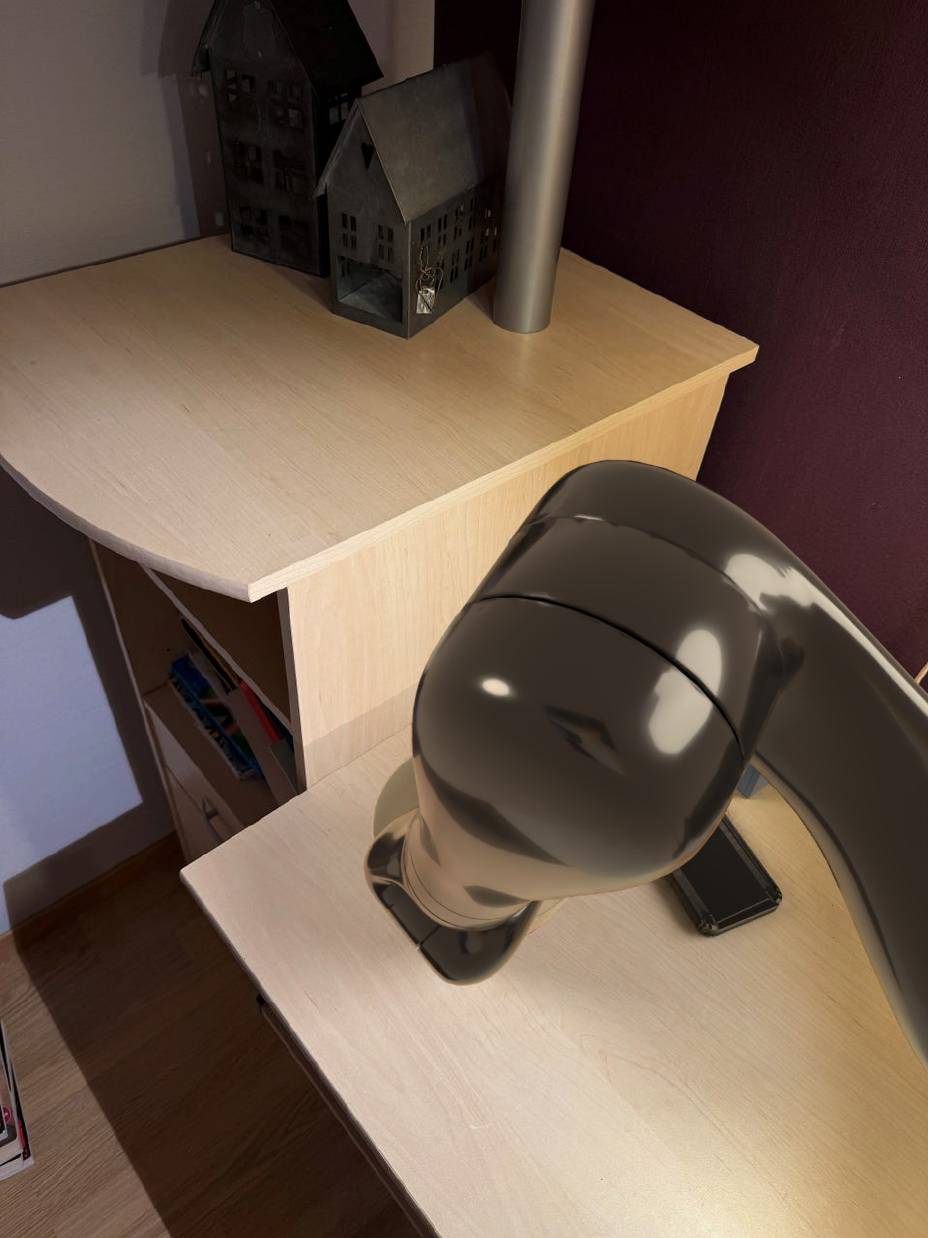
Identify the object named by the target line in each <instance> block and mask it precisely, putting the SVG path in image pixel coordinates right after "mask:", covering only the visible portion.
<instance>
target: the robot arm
mask: <svg viewBox="0 0 928 1238" xmlns="http://www.w3.org/2000/svg"><path fill="white" fill-rule="evenodd" d="M410 728H411V729H410V731H411V732H410V736H411V737H410V742H411V744H410V745H411V746H410V747H411V756H412V760H413V766H414V772H415V778H416V784H417V791H418V802H419V806H417V807H415V808H413V809H411V810H409V811H407V812H405V813H404V814H402V815H400V816H399V817H397V818H396V819H395V820H394V821H392V822H391V823H390V824H389V825H387V826H386V827H385V828H384V829H383V830H382V831H381V832H380V833H379V834H378V836H377V837H376V838H375V839H374V841H373V842H372V841H371V844H369V845H370V846H369V847H368V850H367V852H366V854H365V855H364V860H363V866H362V867H363V876H364V880H365V883H366V885H367V888H368V889H369V891H370V893H371V894H372V896H373V898H374V899H375V900H376V902H377V903H378V904H379V905H380V906H381V908H382V909H383V910H384V912H385V913H387V915H388V916H389V917H390V919H391V920H392V921H393V923H394V924H395V925H396V926H397V928H398V929H399V930H400V931H401V932H402V934H403V936H404V937H405V938H406V939H407V940H408V942H409V943H410V944H411V946H412V947H413V948H414V949H417V950H416V952H417V953H418V955H419V957H421V959H423V961H424V962H425V964H426V965H427V966H428V967H429V968H430V970H431V971H432V972H433V973H434V974H435V975H436V976H437V977H438V978H439V979H440V980H441V981H443V982H445V983H446V984H448V985H452V986H456V987H468V986H472V985H477V984H482V983H483V982H485V981H487V980H489V979H491V978H492V977H494V976H495V975H496V974H498V973H499V972H500V971H502V969H503V968H504V967H505V966H507V964H508V963H509V962H510V961H511V960H512V958H513V957H514V956H515V954H516V953H517V951H518V949H519V948H520V946H521V944H523V941H524V940H525V938H526V937H527V936H526V934H527V933H528V931H529V929H530V927H531V925H532V923H533V921H534V919H535V917H536V915H537V913H538V912H539V910H540V908H541V906H542V904H543V902H544V900H553V899H561V898H568V897H569V898H574V897H582V896H594V895H602V894H610V893H617V892H621V891H626V890H628V889H629V890H630V889H632V888H636V887H639V886H644V885H646V884H648V883H652V882H655V881H657V880H659V879H661V878H663V877H664V876H665V875H667V874H670V873H671V872H673V871H674V870H676V869H678V868H679V867H681V866H682V865H684V864H685V863H686V862H688V861H689V860H690V859H691V858H692V857H693V856H695V855H696V854H697V853H698V851H699V850H700V849H701V848H702V847H703V846H704V845H705V843H706V842H707V841H708V839H709V838H710V836H711V835H712V834H713V832H714V831H715V829H716V828H717V826H718V825H719V823H720V821H721V820H722V818H723V816H724V815H725V814H726V813H727V810H728V808H729V807H730V805H731V803H732V801H733V799H734V796H735V794H736V791H737V790H738V789H737V787H738V785H739V783H740V781H741V779H742V778H743V775H744V773H745V771H746V769H747V767H748V764H749V763H750V764H751V765H752V766H753V767H754V768H755V769H756V770H757V771H758V772H759V773H760V774H761V775H762V776H763V777H764V778H765V779H766V780H767V781H768V782H769V783H768V784H769V785H770V786H771V787H772V788H773V789H774V790H776V792H777V793H778V794H779V795H780V796H781V797H782V798H783V799H784V801H785V802H786V803H787V805H789V807H790V808H791V809H792V810H793V812H794V813H795V814H796V816H797V817H798V818H799V819H800V821H801V822H802V824H803V825H804V827H805V829H807V831H808V832H809V834H810V836H811V837H812V838H813V841H814V842H815V844H816V846H817V847H818V849H819V851H820V853H821V854H822V856H823V859H824V860H825V862H826V864H827V866H828V868H829V871H830V872H831V875H832V877H833V879H834V881H835V883H836V886H837V887H838V889H839V892H840V894H841V897H842V899H843V901H844V903H845V906H846V909H847V911H848V913H849V916H850V918H851V921H852V923H853V926H854V928H855V931H856V933H857V936H858V937H859V940H860V942H861V945H862V947H863V949H864V951H865V953H866V956H867V958H868V960H869V963H870V965H871V968H872V970H873V972H874V974H875V976H876V979H877V981H878V983H879V985H880V988H881V990H882V992H883V993H884V996H885V999H886V1001H887V1003H888V1005H889V1007H890V1010H891V1011H892V1013H893V1016H894V1018H895V1020H896V1022H897V1024H898V1026H899V1028H900V1031H901V1032H902V1034H903V1036H904V1038H905V1040H906V1042H907V1043H908V1045H909V1047H910V1049H911V1051H912V1052H913V1054H914V1055H915V1058H916V1059H917V1060H918V1062H919V1063H920V1065H921V1067H922V1068H923V1069H924V1071H925V1072H926V1074H927V1075H928V693H927V692H926V690H924V688H923V687H922V686H921V685H920V684H919V683H918V682H917V680H915V678H914V677H913V676H912V675H910V673H909V672H908V671H907V670H906V669H905V668H904V666H902V665H901V663H899V661H898V660H897V659H896V658H895V657H894V656H893V655H892V654H891V652H889V651H888V650H887V648H885V646H884V645H882V643H881V642H880V641H879V640H878V639H877V638H876V637H875V635H873V633H872V632H870V630H869V629H868V628H867V627H866V626H865V625H864V624H863V623H862V622H861V621H860V620H859V618H858V617H857V616H856V615H855V614H854V613H853V612H852V611H851V610H850V609H849V607H848V606H846V604H844V602H842V600H841V599H839V597H838V596H837V595H836V594H835V593H834V592H833V591H832V590H831V589H830V588H829V586H828V585H826V584H825V582H823V581H822V579H821V578H820V577H818V575H817V574H816V573H815V571H813V570H812V569H811V568H810V567H809V566H808V565H807V564H806V563H805V562H804V561H803V560H802V559H801V558H800V557H798V556H797V555H796V554H795V553H794V552H793V551H792V550H791V549H790V548H789V547H788V546H787V545H786V544H785V543H784V542H783V541H782V540H781V539H780V538H778V536H776V535H775V534H774V533H773V532H772V531H771V530H769V529H768V528H767V527H766V526H764V524H762V523H761V522H760V521H758V520H757V519H756V518H755V517H754V516H752V515H751V514H750V513H749V512H747V511H746V510H745V509H743V508H741V507H739V506H738V505H737V504H735V503H733V502H732V501H731V500H729V499H727V498H726V497H724V496H723V495H721V494H720V493H718V492H716V491H715V490H713V489H711V488H710V487H708V486H706V485H705V484H703V483H701V482H699V481H697V480H694V479H692V478H690V477H688V476H685V475H683V474H681V473H679V472H677V471H675V470H671V469H669V468H667V467H663V466H659V465H654V464H651V463H647V462H643V461H638V460H633V459H601V460H597V461H593V462H589V463H584V464H581V465H578V466H577V467H575V468H573V469H571V470H569V471H567V472H566V473H564V474H563V475H561V476H560V477H559V478H558V479H557V480H556V481H555V482H554V483H553V484H552V485H551V486H550V487H549V488H548V489H547V490H546V491H545V493H544V494H543V495H542V496H541V497H540V499H538V501H537V502H536V503H535V505H534V506H533V508H532V509H531V510H530V511H529V512H528V514H527V516H526V517H525V519H524V520H523V521H522V523H521V524H520V525H519V527H518V528H517V530H516V531H515V532H514V534H512V537H511V538H510V539H509V540H508V542H507V545H506V546H505V548H504V549H503V551H502V552H501V553H500V555H499V556H498V557H497V559H496V560H495V562H494V563H493V564H492V566H491V568H489V570H488V571H487V573H486V574H485V575H484V577H483V579H482V580H481V582H480V583H478V585H477V587H476V588H475V590H474V591H473V593H472V594H471V595H470V597H469V598H468V600H467V601H466V603H465V604H464V605H463V606H462V608H461V609H460V611H459V612H458V613H457V614H456V615H455V616H454V617H453V619H452V620H451V622H450V623H449V624H448V626H447V628H446V629H445V631H444V632H443V634H442V635H441V637H440V638H439V640H438V641H437V643H436V645H435V646H434V648H433V649H432V651H431V653H430V655H429V657H428V659H427V661H426V663H425V666H424V667H423V670H422V673H421V675H420V678H419V681H418V684H417V687H416V691H415V695H414V700H413V706H412V716H411V726H410ZM569 898H568V899H569Z"/></svg>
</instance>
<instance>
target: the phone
mask: <svg viewBox="0 0 928 1238" xmlns="http://www.w3.org/2000/svg"><path fill="white" fill-rule="evenodd" d="M663 877H664V879H665V880H666V882H667V883H668V885H669V887H670V888H671V890H672V891H673V893H674V894H675V896H676V897H677V899H678V901H679V902H680V904H681V905H682V908H683V909H684V911H685V912H686V914H687V915H688V917H689V918H690V920H691V921H692V923H693V924H694V926H695V928H696V929H697V930H698V931H699V932H700V933H701V934H702V935H704V936H706V937H712V938H713V937H718V936H720V935H723V934H725V933H727V932H729V931H733V930H734V929H737V928H739V927H742V926H744V925H746V924H749V923H751V922H753V921H756V920H758V919H761V918H763V917H765V916H767V915H770V914H773V913H774V912H776V911H777V909H778V908H779V906H780V905H781V903H782V901H783V897H784V896H783V892H782V890H781V888H780V887H779V886H778V884H777V883H776V882H775V880H774V878H772V876H771V875H770V873H769V872H768V871H767V869H766V868H765V866H764V865H763V863H762V862H761V860H759V858H758V857H757V855H756V854H755V853H754V851H753V850H752V849H751V847H750V846H749V844H748V843H747V842H746V840H745V839H744V837H743V836H742V834H741V833H740V832H739V830H738V829H737V828H736V826H735V825H734V824H733V822H732V821H731V820H730V818H729V817H728V815H727V814H726V813H725V815H724V816H723V818H722V820H721V821H720V823H719V825H718V826H717V828H716V829H715V831H714V832H713V834H712V835H711V836H710V838H709V839H708V841H707V842H706V843H705V845H704V846H703V847H702V848H701V849H700V850H699V851H698V853H697V854H696V855H695V856H693V857H692V858H691V859H690V860H689V861H688V862H686V863H685V864H684V865H682V866H681V867H679V868H678V869H676V870H674V871H673V872H671V873H670V874H667V875H665V876H663Z"/></svg>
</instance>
